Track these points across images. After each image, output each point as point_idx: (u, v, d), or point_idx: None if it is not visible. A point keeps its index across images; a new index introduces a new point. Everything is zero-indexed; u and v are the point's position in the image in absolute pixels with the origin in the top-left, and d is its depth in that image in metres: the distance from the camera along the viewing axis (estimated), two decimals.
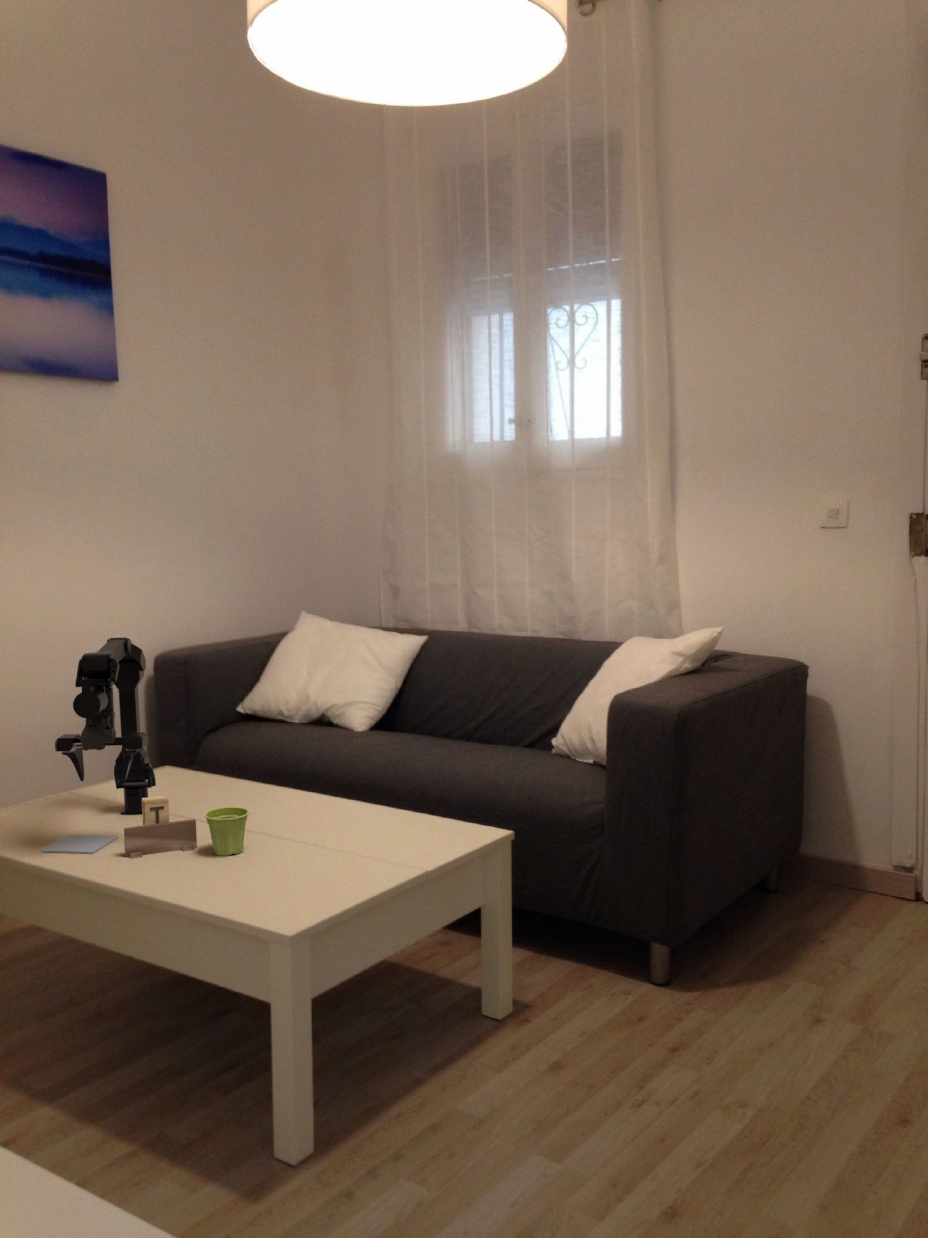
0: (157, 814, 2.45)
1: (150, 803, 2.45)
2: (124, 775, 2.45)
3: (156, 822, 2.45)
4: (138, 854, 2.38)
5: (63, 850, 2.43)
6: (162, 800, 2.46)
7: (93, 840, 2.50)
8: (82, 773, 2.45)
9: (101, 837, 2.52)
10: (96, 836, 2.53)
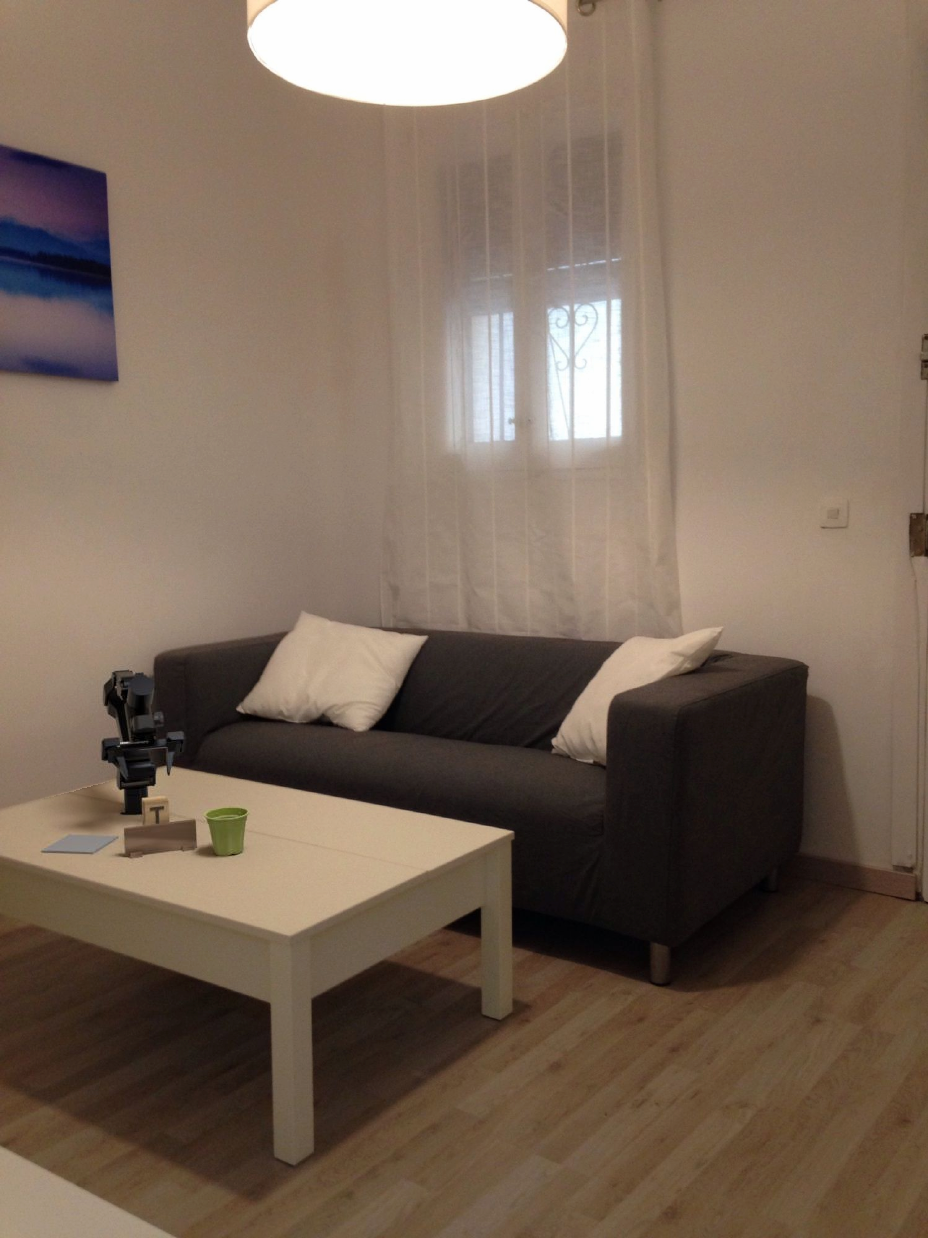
0: (157, 814, 2.45)
1: (150, 803, 2.45)
2: (169, 768, 2.56)
3: (156, 822, 2.45)
4: (138, 854, 2.38)
5: (63, 850, 2.43)
6: (162, 800, 2.46)
7: (93, 840, 2.50)
8: None
9: (101, 837, 2.52)
10: (96, 836, 2.53)
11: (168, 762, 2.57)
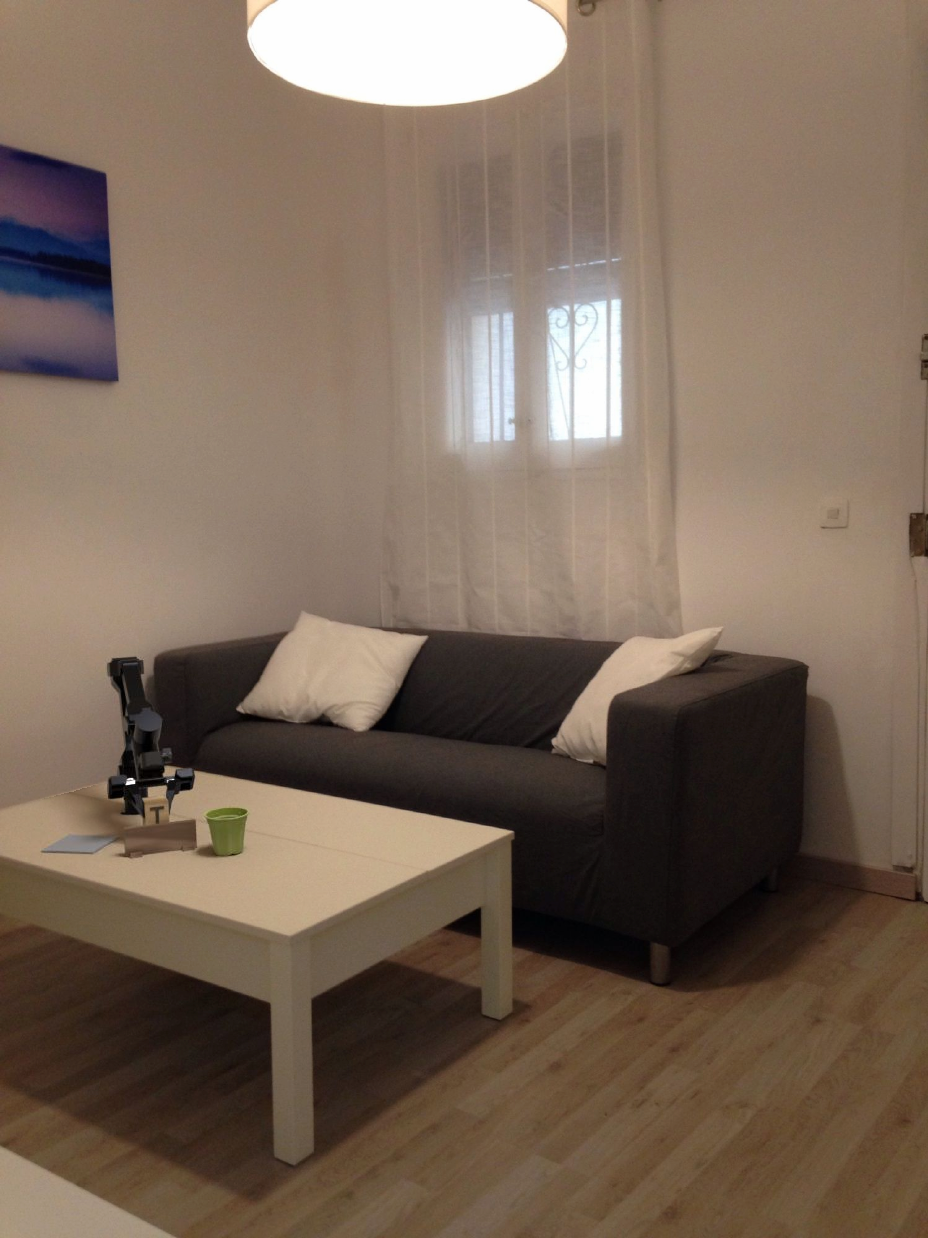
0: (157, 814, 2.45)
1: (150, 803, 2.45)
2: (169, 808, 2.48)
3: (156, 822, 2.45)
4: (138, 854, 2.38)
5: (63, 850, 2.43)
6: (162, 800, 2.46)
7: (93, 840, 2.50)
8: (143, 810, 2.46)
9: (101, 837, 2.52)
10: (96, 836, 2.53)
11: (168, 801, 2.48)
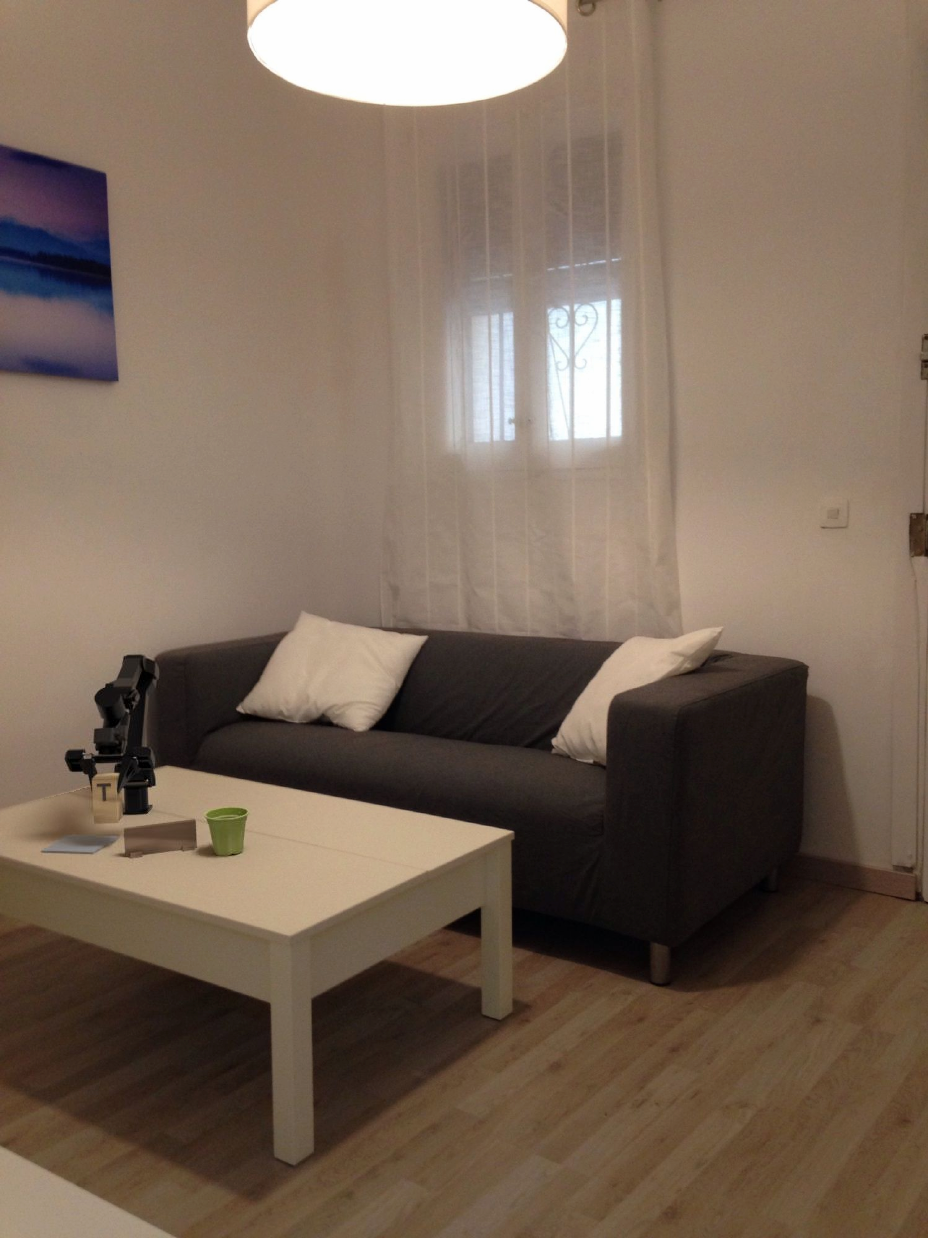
0: (104, 791, 2.43)
1: (97, 779, 2.43)
2: (118, 785, 2.45)
3: (103, 799, 2.43)
4: (138, 854, 2.38)
5: (63, 850, 2.43)
6: (110, 777, 2.44)
7: (93, 840, 2.50)
8: None
9: (101, 837, 2.52)
10: (96, 836, 2.53)
11: (119, 779, 2.46)
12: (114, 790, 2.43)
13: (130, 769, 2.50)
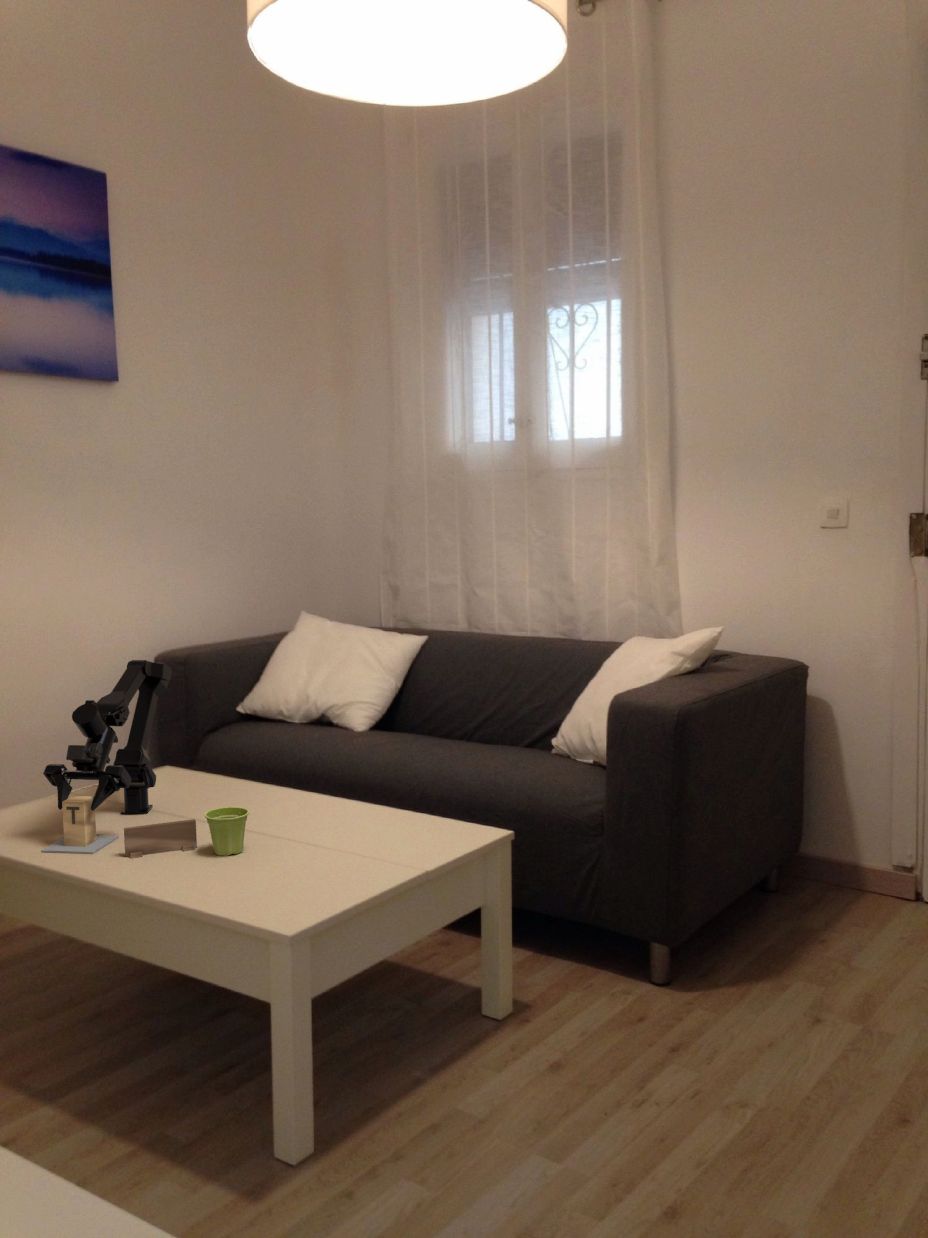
0: (73, 814, 2.45)
1: (67, 802, 2.45)
2: (93, 803, 2.45)
3: (72, 822, 2.45)
4: (138, 854, 2.38)
5: (63, 850, 2.43)
6: (80, 801, 2.45)
7: None
8: None
9: (101, 837, 2.52)
10: (96, 836, 2.53)
11: (95, 796, 2.46)
12: (82, 814, 2.44)
13: (110, 787, 2.50)
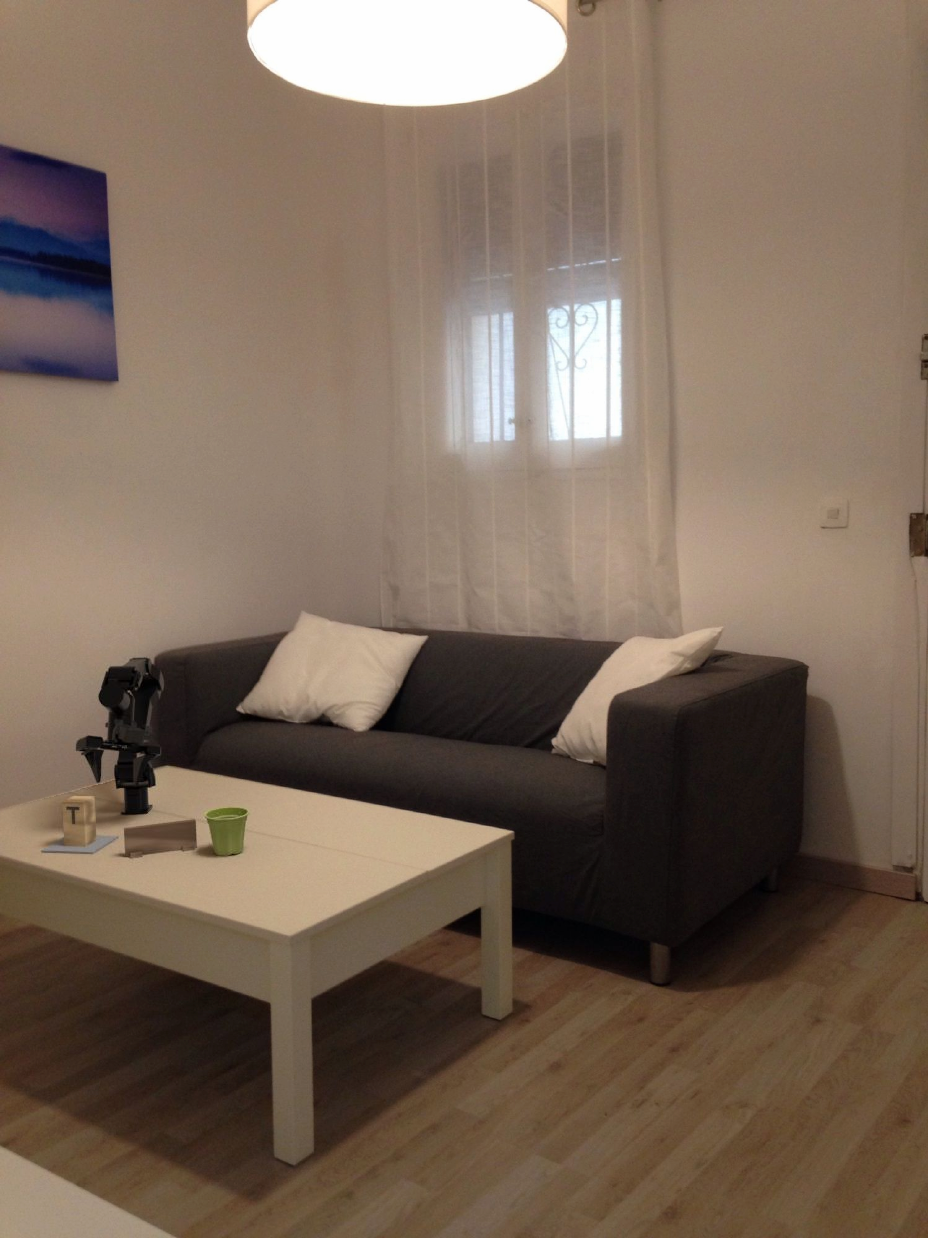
0: (73, 814, 2.45)
1: (67, 802, 2.45)
2: (138, 780, 2.60)
3: (72, 822, 2.45)
4: (138, 854, 2.38)
5: (63, 850, 2.43)
6: (80, 801, 2.45)
7: None
8: None
9: (101, 837, 2.52)
10: (96, 836, 2.53)
11: (139, 774, 2.60)
12: (82, 814, 2.44)
13: None
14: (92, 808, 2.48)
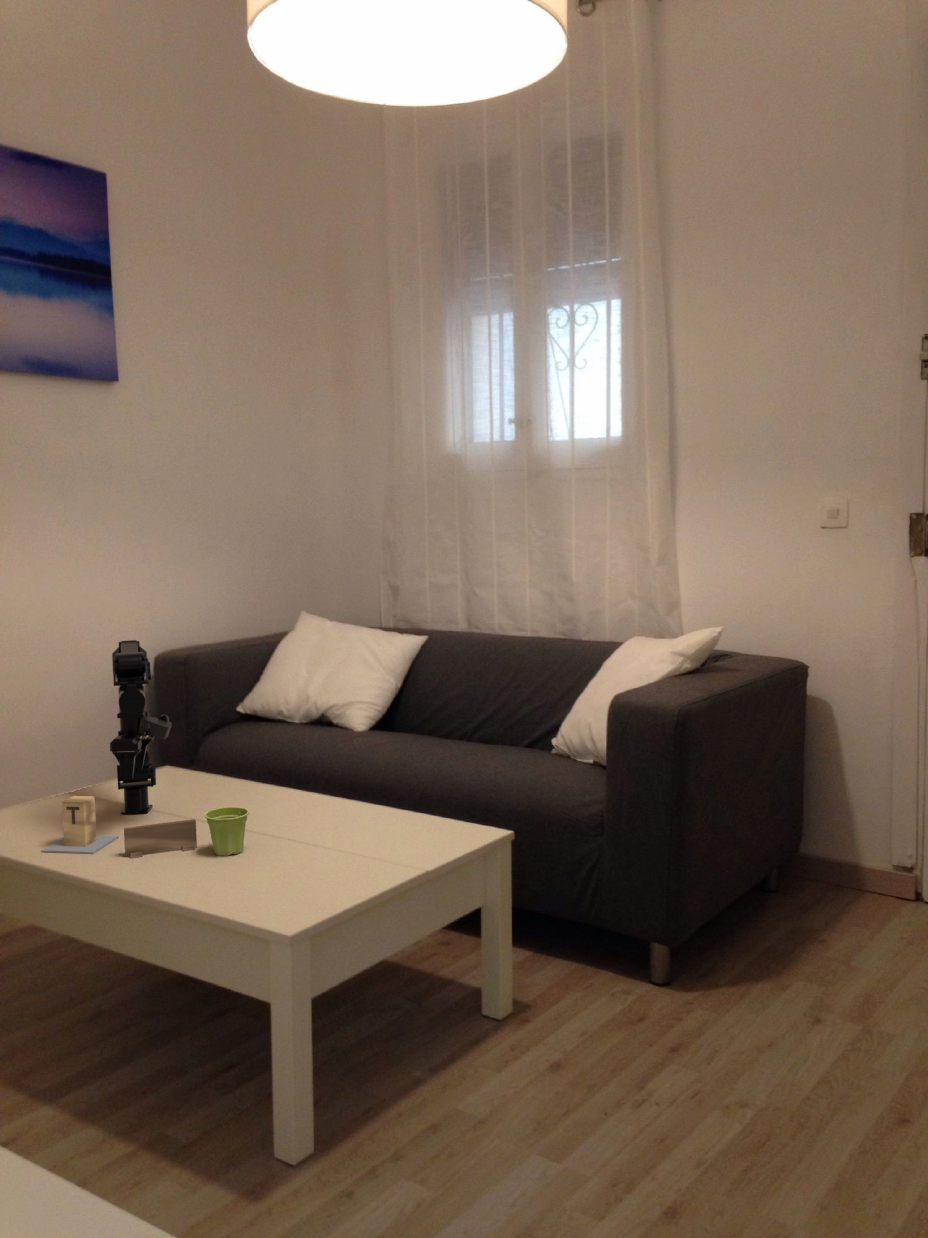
0: (73, 814, 2.45)
1: (67, 802, 2.45)
2: (143, 764, 2.63)
3: (72, 822, 2.45)
4: (138, 854, 2.38)
5: (63, 850, 2.43)
6: (80, 801, 2.45)
7: None
8: None
9: (101, 837, 2.52)
10: (96, 836, 2.53)
11: (143, 758, 2.63)
12: (82, 814, 2.44)
13: None
14: (92, 808, 2.48)
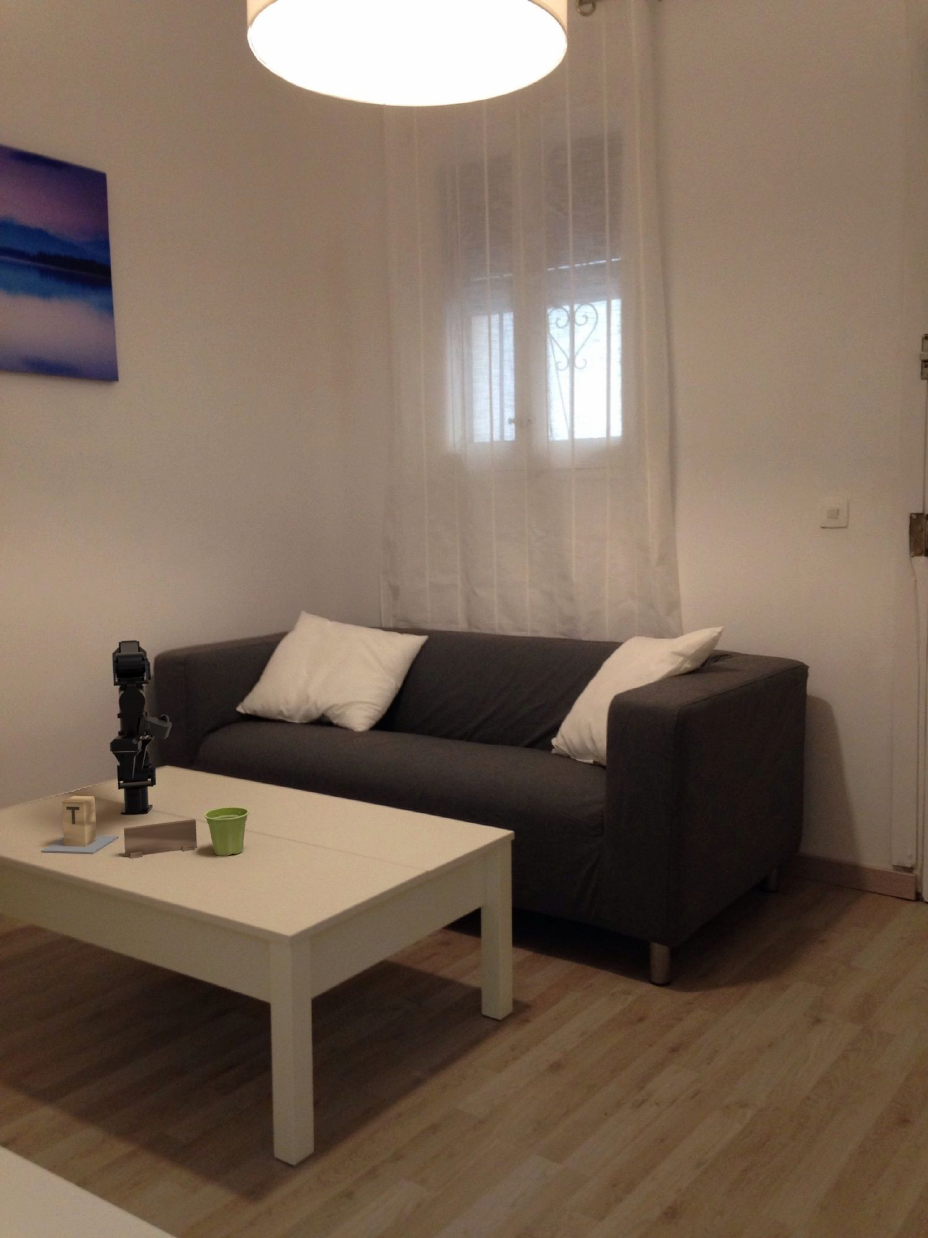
0: (73, 814, 2.45)
1: (67, 802, 2.45)
2: (143, 764, 2.63)
3: (72, 822, 2.45)
4: (138, 854, 2.38)
5: (63, 850, 2.43)
6: (80, 801, 2.45)
7: None
8: None
9: (101, 837, 2.52)
10: (96, 836, 2.53)
11: (143, 758, 2.63)
12: (82, 814, 2.44)
13: None
14: (92, 808, 2.48)
